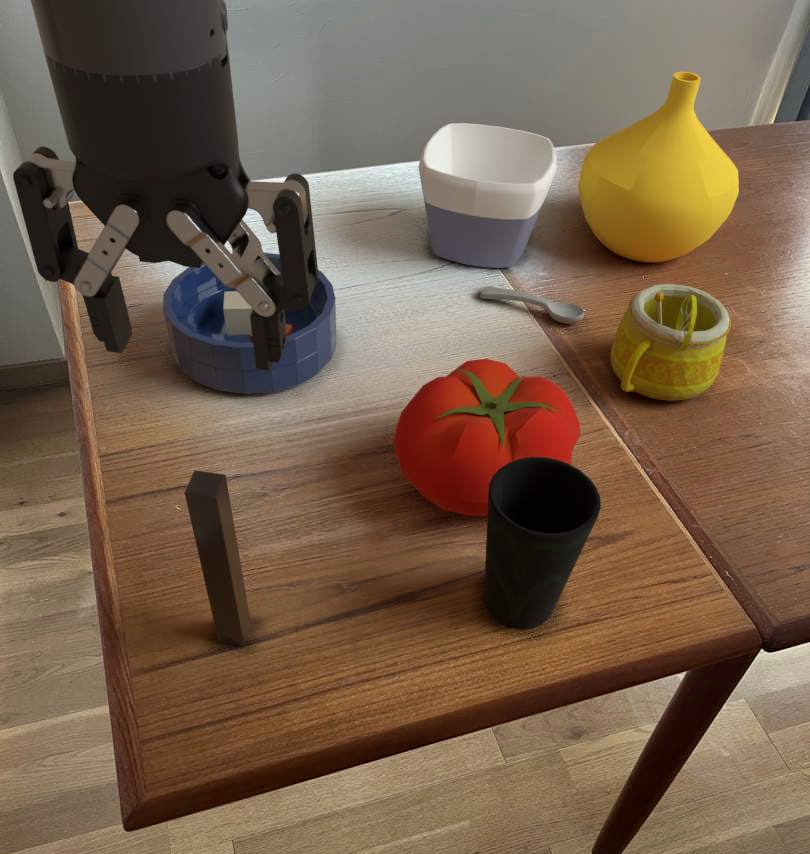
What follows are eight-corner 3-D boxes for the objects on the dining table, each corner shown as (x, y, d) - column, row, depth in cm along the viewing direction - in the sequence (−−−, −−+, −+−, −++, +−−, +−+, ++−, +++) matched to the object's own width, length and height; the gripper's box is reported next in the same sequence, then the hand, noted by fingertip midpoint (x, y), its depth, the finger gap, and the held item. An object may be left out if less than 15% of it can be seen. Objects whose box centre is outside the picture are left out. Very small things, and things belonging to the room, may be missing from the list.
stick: (218, 642, 61) (183, 492, 49) (226, 621, 62) (194, 469, 50) (244, 646, 61) (216, 497, 49) (251, 625, 62) (226, 474, 50)
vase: (725, 289, 96) (789, 119, 82) (569, 273, 97) (605, 102, 83) (705, 213, 108) (758, 53, 94) (566, 200, 109) (598, 39, 95)
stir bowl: (150, 386, 80) (137, 334, 76) (202, 294, 91) (194, 243, 87) (316, 408, 79) (314, 357, 75) (349, 312, 90) (349, 262, 86)
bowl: (549, 224, 105) (565, 134, 96) (531, 287, 95) (548, 193, 86) (432, 204, 107) (438, 115, 98) (402, 265, 97) (406, 171, 88)
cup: (455, 576, 66) (470, 469, 57) (539, 553, 68) (567, 446, 59) (495, 652, 62) (519, 549, 53) (584, 624, 64) (622, 520, 55)
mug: (643, 331, 90) (675, 228, 81) (731, 378, 85) (775, 274, 76) (571, 379, 84) (597, 274, 75) (661, 433, 79) (700, 327, 70)
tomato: (361, 476, 73) (361, 388, 66) (489, 402, 81) (502, 316, 73) (474, 572, 67) (488, 486, 59) (602, 482, 74) (629, 396, 67)
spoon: (578, 331, 89) (580, 315, 88) (476, 307, 93) (477, 291, 92) (586, 317, 91) (589, 301, 90) (486, 294, 95) (487, 278, 93)
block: (227, 335, 85) (223, 308, 83) (227, 317, 87) (224, 291, 85) (258, 334, 86) (255, 308, 83) (258, 317, 88) (255, 290, 85)
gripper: (-74, 48, 32) (45, 379, 44) (281, 83, 31) (303, 410, 44) (11, -10, 37) (97, 302, 49) (320, 19, 36) (330, 329, 49)
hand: (194, 353), depth 47 cm, fingers open, 8 cm apart
